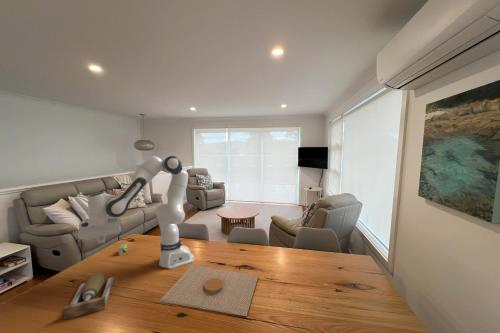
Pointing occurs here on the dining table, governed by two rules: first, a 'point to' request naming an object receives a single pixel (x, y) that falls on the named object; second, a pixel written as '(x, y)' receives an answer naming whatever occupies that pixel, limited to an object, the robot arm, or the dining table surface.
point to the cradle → (87, 302)
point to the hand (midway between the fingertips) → (101, 242)
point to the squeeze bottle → (93, 286)
